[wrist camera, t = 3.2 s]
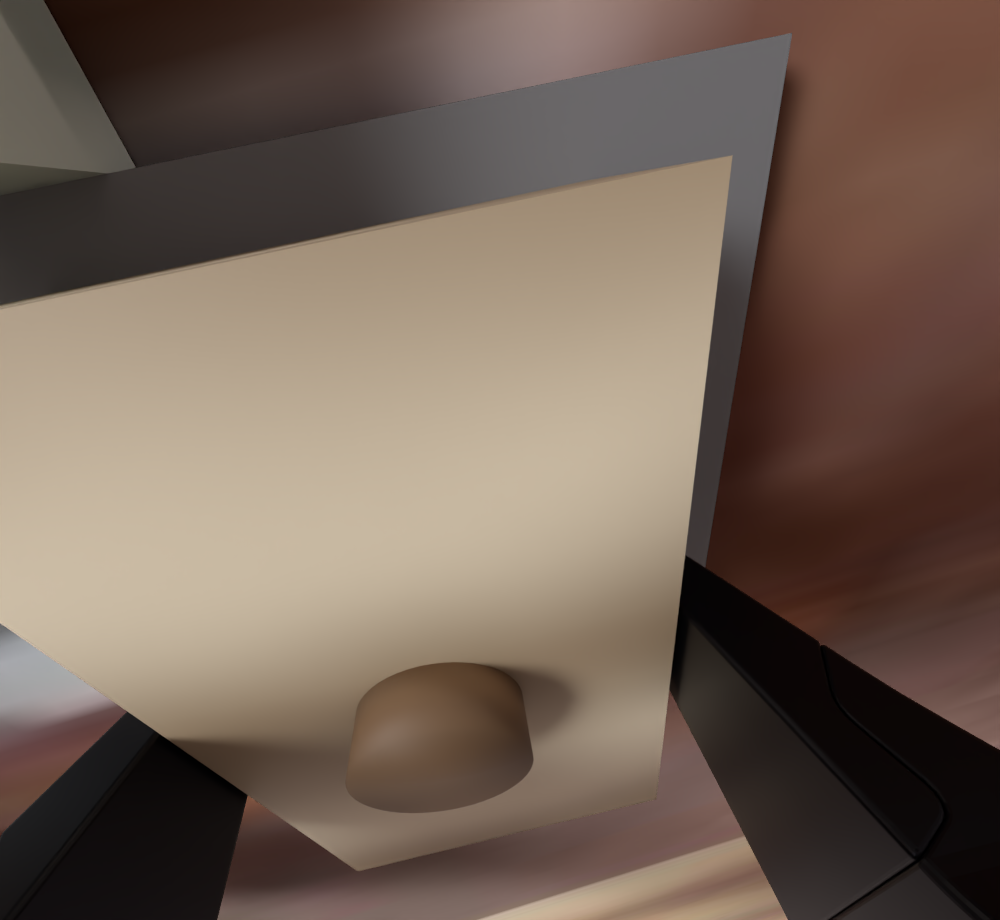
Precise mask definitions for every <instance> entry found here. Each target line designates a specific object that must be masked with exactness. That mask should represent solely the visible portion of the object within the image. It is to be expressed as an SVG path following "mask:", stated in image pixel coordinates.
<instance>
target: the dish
mask: <svg viewBox="0 0 1000 920" xmlns="http://www.w3.org/2000/svg"><path fill="white" fill-rule="evenodd" d="M132 168H136V167H135V165H134V164H133V162H132V160H131V158H130V156H129V154H128V153H127V151H126V149H125V147H124V145H123V144H122V142H121V140H120V138H119V136H118V134H117V133H116V131H115V129H114V127H113V125H112V124H111V122H110V120H109V118H108V116H107V114H106V113H105V111H104V109H103V107H102V105H101V104H100V102H99V100H98V98H97V96H96V95H95V93H94V91H93V89H92V87H91V85H90V84H89V82H88V80H87V78H86V76H85V75H84V73H83V71H82V69H81V67H80V65H79V64H78V62H77V60H76V58H75V56H74V55H73V53H72V51H71V49H70V47H69V45H68V44H67V42H66V40H65V38H64V36H63V35H62V33H61V31H60V29H59V27H58V25H57V24H56V22H55V20H54V18H53V16H52V15H51V13H50V11H49V9H48V7H47V5H46V4H45V2H44V0H0V196H1V195H5V194H10V193H15V192H20V191H25V190H30V189H35V188H40V187H44V186H49V185H54V184H59V183H64V182H69V181H74V180H79V179H83V178H88V177H93V176H98V175H103V174H108V173H113V172H118V171H122V170H127V169H132Z"/></svg>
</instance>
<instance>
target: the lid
mask: <svg viewBox="0 0 1000 920" xmlns="http://www.w3.org/2000/svg"><path fill="white" fill-rule="evenodd" d="M732 156H733V155H732ZM732 156H726V157H720V158H714V159H708V160H703V161H697V162H691V163H685V164H680V165H674V166H668V167H662V168H656V169H651V170H645V171H639V172H633V173H628V174H622V175H616V176H610V177H604V178H599V179H593V180H587V181H582V182H578V183H573V184H568V185H563V186H559V187H554V188H549V189H544V190H540V191H535V192H530V193H525V194H521V195H516V196H511V197H506V198H502V199H497V200H492V201H487V202H483V203H478V204H473V205H468V206H464V207H459V208H454V209H449V210H445V211H440V212H435V213H430V214H426V215H421V216H416V217H411V218H407V219H402V220H397V221H392V222H388V223H383V224H378V225H373V226H369V227H364V228H359V229H354V230H350V231H345V232H340V233H335V234H331V235H326V236H321V237H316V238H312V239H307V240H302V241H297V242H293V243H288V244H283V245H278V246H274V247H269V248H264V249H259V250H255V251H250V252H245V253H240V254H236V255H231V256H226V257H221V258H217V259H212V260H207V261H202V262H198V263H193V264H188V265H183V266H179V267H174V268H169V269H164V270H160V271H155V272H150V273H145V274H141V275H136V276H131V277H126V278H122V279H117V280H112V281H107V282H102V283H98V284H93V285H88V286H83V287H79V288H74V289H69V290H64V291H60V292H55V293H50V294H45V295H41V296H37V297H32V298H28V299H23V300H19V301H14V302H10V303H5V304H1V305H0V623H1V624H2V625H4V626H5V627H6V628H8V629H9V630H11V631H12V632H14V633H15V634H17V635H18V636H19V637H21V638H22V639H24V640H25V641H27V642H28V643H29V644H31V645H32V646H34V647H35V648H37V649H38V650H40V651H41V652H42V653H44V654H45V655H47V656H48V657H50V658H51V659H53V660H54V661H55V662H57V663H58V664H60V665H61V666H63V667H64V668H66V669H67V670H68V671H70V672H71V673H73V674H74V675H76V676H77V677H78V678H80V679H81V680H83V681H84V682H86V683H87V684H89V685H90V686H91V687H93V688H94V689H96V690H97V691H99V692H100V693H102V694H103V695H104V696H106V697H107V698H109V699H110V700H112V701H113V702H114V703H116V704H117V705H119V706H120V707H122V708H123V709H125V710H126V711H127V712H129V713H130V714H132V715H133V716H135V717H136V718H138V719H139V720H140V721H142V722H143V723H145V724H146V725H148V726H149V727H150V728H152V729H153V730H155V731H156V732H158V733H159V734H161V735H162V736H163V737H165V738H166V739H168V740H169V741H171V742H172V743H174V744H175V745H176V746H178V747H179V748H181V749H182V750H184V751H185V752H186V753H188V754H189V755H191V756H192V757H194V758H195V759H197V760H198V761H199V762H201V763H202V764H204V765H205V766H207V767H208V768H210V769H211V770H212V771H214V772H215V773H217V774H218V775H220V776H221V777H223V778H224V779H225V780H227V781H228V782H230V783H231V784H233V785H234V786H235V787H237V788H238V789H240V790H241V791H243V792H244V793H246V794H247V795H248V796H250V797H251V798H253V799H254V800H256V801H257V802H259V803H260V804H261V805H263V806H264V807H266V808H267V809H269V810H270V811H271V812H273V813H274V814H276V815H277V816H279V817H280V818H282V819H283V820H284V821H286V822H287V823H289V824H290V825H292V826H293V827H295V828H296V829H297V830H299V831H300V832H302V833H303V834H305V835H306V836H307V837H309V838H310V839H312V840H313V841H315V842H316V843H318V844H319V845H320V846H322V847H323V848H325V849H326V850H328V851H329V852H331V853H332V854H333V855H335V856H336V857H338V858H339V859H341V860H342V861H343V862H345V863H346V864H348V865H349V866H351V867H352V868H354V869H355V870H356V871H361V870H365V869H370V868H374V867H378V866H382V865H386V864H390V863H394V862H399V861H403V860H407V859H411V858H415V857H419V856H423V855H428V854H432V853H436V852H440V851H444V850H448V849H452V848H457V847H461V846H465V845H469V844H473V843H477V842H481V841H485V840H490V839H494V838H498V837H502V836H506V835H510V834H514V833H519V832H523V831H527V830H531V829H535V828H539V827H543V826H548V825H552V824H556V823H560V822H564V821H568V820H572V819H577V818H581V817H585V816H589V815H593V814H597V813H601V812H606V811H610V810H614V809H618V808H622V807H626V806H630V805H635V804H639V803H643V802H647V801H651V800H655V799H656V796H657V788H658V779H659V771H660V763H661V754H662V746H663V737H664V729H665V720H666V712H667V704H668V695H669V687H670V678H671V670H672V661H673V653H674V645H675V636H676V628H677V619H678V611H679V602H680V594H681V586H682V577H683V569H684V560H685V552H686V543H687V535H688V527H689V518H690V510H691V501H692V493H693V484H694V476H695V468H696V459H697V451H698V442H699V434H700V426H701V417H702V409H703V400H704V392H705V383H706V375H707V367H708V358H709V350H710V341H711V333H712V324H713V316H714V308H715V299H716V291H717V282H718V274H719V265H720V257H721V249H722V240H723V232H724V223H725V215H726V206H727V198H728V190H729V181H730V173H731V164H732Z"/></svg>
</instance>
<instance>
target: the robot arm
mask: <svg viewBox="0 0 1000 920" xmlns="http://www.w3.org/2000/svg"><path fill="white" fill-rule="evenodd" d="M669 690H670V692H671V693H672V695H673V697H674V699H675V701H676V703H677V705H678V707H679V709H680V711H681V713H682V715H683V717H684V719H685V721H686V723H687V724H688V726H689V728H690V730H691V732H692V734H693V736H694V738H695V740H696V742H697V744H698V746H699V748H700V750H701V752H702V754H703V756H704V757H705V759H706V761H707V763H708V765H709V767H710V769H711V771H712V773H713V775H714V777H715V779H716V781H717V783H718V785H719V787H720V788H721V790H722V792H723V794H724V796H725V798H726V800H727V802H728V804H729V806H730V808H731V810H732V812H733V814H734V816H735V818H736V820H737V821H738V823H739V825H740V827H741V829H742V831H743V833H744V835H745V837H746V839H747V841H748V843H749V845H750V847H751V849H752V851H753V853H754V854H755V856H756V858H757V860H758V862H759V864H760V866H761V868H762V870H763V872H764V874H765V876H766V878H767V880H768V882H769V884H770V885H771V887H772V889H773V891H774V893H775V895H776V897H777V899H778V901H779V903H780V905H781V907H782V909H783V911H784V913H785V915H786V917H787V918H788V920H1000V750H999V749H997V748H995V747H993V746H992V745H990V744H988V743H986V742H985V741H983V740H981V739H979V738H977V737H976V736H974V735H972V734H970V733H969V732H967V731H965V730H963V729H961V728H960V727H958V726H956V725H954V724H953V723H951V722H949V721H948V720H946V719H944V718H942V717H941V716H939V715H937V714H936V713H934V712H932V711H930V710H929V709H927V708H925V707H923V706H922V705H920V704H918V703H917V702H915V701H913V700H911V699H910V698H908V697H906V696H905V695H903V694H901V693H899V692H898V691H896V690H895V689H893V688H891V687H890V686H888V685H887V684H885V683H883V682H882V681H880V680H879V679H877V678H875V677H874V676H872V675H871V674H869V673H867V672H866V671H864V670H863V669H861V668H859V667H858V666H856V665H855V664H853V663H851V662H850V661H848V660H847V659H845V658H844V657H842V656H841V655H839V654H838V653H836V652H835V651H833V650H831V649H830V648H828V647H827V646H825V645H821V646H820V643H819V642H818V641H817V640H816V639H814V638H813V637H811V636H810V635H808V634H807V633H805V632H803V631H802V630H800V629H799V628H797V627H796V626H794V625H793V624H791V623H790V622H788V621H787V620H785V619H783V618H782V617H780V616H779V615H777V614H776V613H774V612H773V611H771V610H770V609H768V608H767V607H765V606H763V605H762V604H760V603H759V602H757V601H756V600H754V599H753V598H751V597H750V596H748V595H747V594H745V593H743V592H742V591H740V590H739V589H737V588H736V587H734V586H733V585H731V584H730V583H728V582H727V581H725V580H723V579H722V578H720V577H719V576H717V575H716V574H714V573H713V572H711V571H710V570H708V569H707V568H705V567H704V566H702V565H700V564H699V563H697V562H696V561H694V560H693V559H691V558H690V557H688V556H687V555H685V560H684V569H683V577H682V586H681V594H680V602H679V611H678V619H677V628H676V636H675V645H674V653H673V661H672V670H671V678H670V687H669ZM247 796H248V795H247V794H246V793H244V792H243V791H241V790H240V789H238V788H237V787H235V786H234V785H233V784H231V783H230V782H228V781H227V780H225V779H224V778H223V777H221V776H220V775H218V774H217V773H215V772H214V771H212V770H211V769H210V768H208V767H207V766H205V765H204V764H202V763H201V762H199V761H198V760H197V759H195V758H194V757H192V756H191V755H189V754H188V753H186V752H185V751H184V750H182V749H181V748H179V747H178V746H176V745H175V744H174V743H172V742H171V741H169V740H168V739H166V738H165V737H163V736H162V735H161V734H159V733H158V732H156V731H155V730H153V729H152V728H150V727H149V726H148V725H146V724H145V723H143V722H142V721H140V720H139V719H138V718H136V717H135V716H133V715H132V714H130V713H129V712H126V713H125V714H124V715H123V716H122V717H121V718H120V719H119V720H118V721H117V722H116V723H115V724H114V725H113V726H112V727H111V728H110V729H109V730H108V731H107V732H106V733H105V734H104V735H103V736H102V737H101V738H100V739H99V740H98V741H97V742H96V743H94V744H93V745H92V746H91V747H90V748H89V749H88V750H87V751H86V752H85V753H84V754H83V755H82V756H81V757H80V758H79V759H78V760H77V761H76V762H75V763H74V764H73V765H72V766H71V767H70V768H69V769H68V770H67V771H66V772H65V773H64V774H63V775H62V776H61V777H60V778H58V779H57V780H56V781H55V782H54V783H53V784H52V785H51V786H50V787H49V788H48V789H47V790H46V791H45V792H44V793H43V794H42V795H41V796H40V797H39V798H38V799H37V800H36V801H35V802H34V803H33V804H32V805H31V806H30V807H29V808H28V809H27V810H26V811H25V812H23V813H22V814H21V815H20V816H19V817H18V818H17V819H16V820H15V821H14V822H13V823H12V824H11V825H10V826H9V827H8V828H7V829H6V830H5V831H4V832H3V833H2V835H1V837H0V920H217V918H218V914H219V910H220V906H221V902H222V898H223V894H224V890H225V886H226V882H227V878H228V874H229V869H230V865H231V861H232V857H233V853H234V849H235V845H236V841H237V837H238V833H239V829H240V824H241V820H242V816H243V812H244V808H245V804H246V800H247Z"/></svg>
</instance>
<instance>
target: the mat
mask: <svg viewBox="0 0 1000 920" xmlns="http://www.w3.org/2000/svg"><path fill="white" fill-rule="evenodd" d="M791 37H792V33H790V34H785V35H780V36H775V37H770V38H766V39H761V40H756V41H751V42H746V43H741V44H736V45H731V46H727V47H722V48H717V49H712V50H707V51H702V52H697V53H692V54H688V55H683V56H678V57H673V58H668V59H663V60H658V61H653V62H649V63H644V64H639V65H634V66H629V67H624V68H619V69H614V70H610V71H605V72H600V73H595V74H590V75H585V76H580V77H576V78H571V79H566V80H561V81H556V82H551V83H546V84H541V85H537V86H532V87H527V88H522V89H517V90H512V91H507V92H502V93H498V94H493V95H488V96H483V97H478V98H473V99H468V100H463V101H459V102H454V103H449V104H444V105H439V106H434V107H429V108H424V109H420V110H415V111H410V112H405V113H400V114H395V115H390V116H385V117H381V118H376V119H371V120H366V121H361V122H356V123H351V124H347V125H342V126H337V127H332V128H327V129H322V130H317V131H312V132H308V133H303V134H298V135H293V136H288V137H283V138H278V139H273V140H269V141H264V142H259V143H254V144H249V145H244V146H239V147H234V148H230V149H225V150H220V151H215V152H210V153H205V154H200V155H195V156H191V157H186V158H181V159H176V160H171V161H166V162H161V163H156V164H152V165H147V166H142V167H137V168H132V169H127V170H122V171H118V172H113V173H108V174H103V175H98V176H93V177H88V178H83V179H79V180H74V181H69V182H64V183H59V184H54V185H49V186H44V187H40V188H35V189H30V190H25V191H20V192H15V193H10V194H5V195H1V196H0V305H1V304H5V303H10V302H14V301H19V300H23V299H28V298H32V297H37V296H41V295H45V294H50V293H55V292H60V291H64V290H69V289H74V288H79V287H83V286H88V285H93V284H98V283H102V282H107V281H112V280H117V279H122V278H126V277H131V276H136V275H141V274H145V273H150V272H155V271H160V270H164V269H169V268H174V267H179V266H183V265H188V264H193V263H198V262H202V261H207V260H212V259H217V258H221V257H226V256H231V255H236V254H240V253H245V252H250V251H255V250H259V249H264V248H269V247H274V246H278V245H283V244H288V243H293V242H297V241H302V240H307V239H312V238H316V237H321V236H326V235H331V234H335V233H340V232H345V231H350V230H354V229H359V228H364V227H369V226H373V225H378V224H383V223H388V222H392V221H397V220H402V219H407V218H411V217H416V216H421V215H426V214H430V213H435V212H440V211H445V210H449V209H454V208H459V207H464V206H468V205H473V204H478V203H483V202H487V201H492V200H497V199H502V198H506V197H511V196H516V195H521V194H525V193H530V192H535V191H540V190H544V189H549V188H554V187H559V186H563V185H568V184H573V183H578V182H582V181H587V180H593V179H599V178H604V177H610V176H616V175H622V174H628V173H633V172H639V171H645V170H651V169H656V168H662V167H668V166H674V165H680V164H685V163H691V162H697V161H703V160H708V159H714V158H720V157H726V156H732V155H733V156H732V164H731V173H730V181H729V190H728V198H727V206H726V215H725V223H724V232H723V240H722V249H721V257H720V265H719V274H718V282H717V291H716V299H715V308H714V316H713V324H712V333H711V341H710V350H709V358H708V367H707V375H706V383H705V392H704V400H703V409H702V417H701V426H700V434H699V442H698V451H697V459H696V468H695V476H694V484H693V493H692V501H691V510H690V518H689V527H688V535H687V543H686V552H685V555H687V556H688V557H690V558H691V559H693V560H694V561H696V562H697V563H699V564H700V565H702V566H704V567H705V565H706V559H707V553H708V547H709V541H710V535H711V529H712V522H713V516H714V510H715V504H716V498H717V492H718V486H719V479H720V473H721V467H722V461H723V455H724V449H725V442H726V436H727V430H728V424H729V418H730V412H731V406H732V399H733V393H734V387H735V381H736V375H737V369H738V363H739V356H740V350H741V344H742V338H743V332H744V326H745V319H746V313H747V307H748V301H749V295H750V289H751V283H752V276H753V270H754V264H755V258H756V252H757V246H758V240H759V233H760V227H761V221H762V215H763V209H764V203H765V196H766V190H767V184H768V178H769V172H770V166H771V160H772V153H773V147H774V141H775V135H776V129H777V123H778V117H779V110H780V104H781V98H782V92H783V86H784V80H785V73H786V67H787V61H788V55H789V49H790V43H791Z"/></svg>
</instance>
